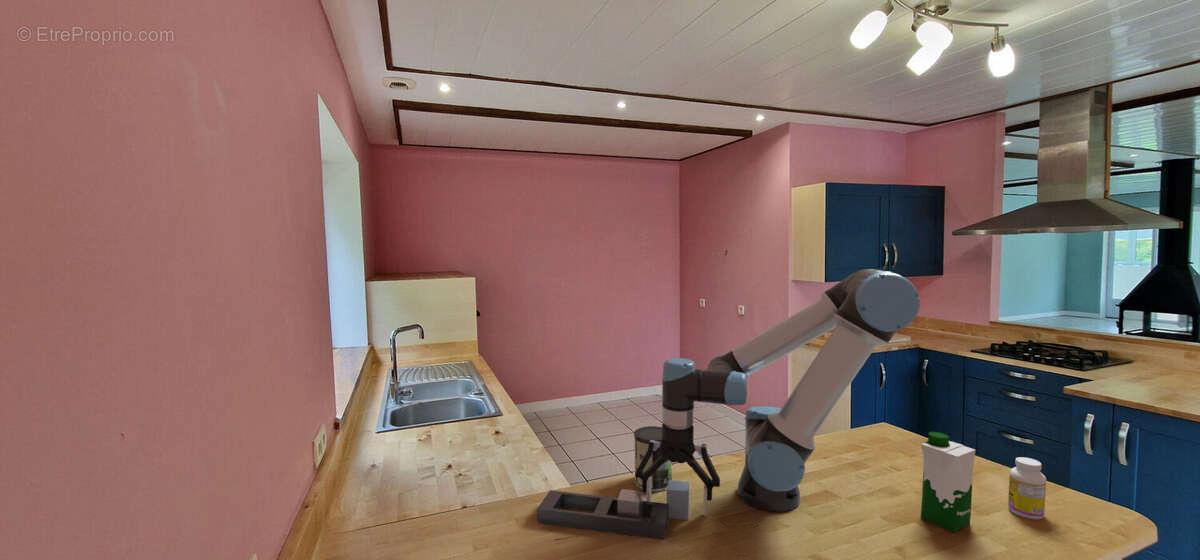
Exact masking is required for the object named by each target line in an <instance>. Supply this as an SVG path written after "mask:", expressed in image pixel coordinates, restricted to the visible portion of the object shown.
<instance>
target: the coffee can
mask: <svg viewBox="0 0 1200 560" xmlns="http://www.w3.org/2000/svg"><path fill="white" fill-rule="evenodd" d="M633 436H634V474H635V473H636V470H637V468H638V467H639V465H640V463H641V461H642V459H643V457H644V456H645V454H646V452H647V450H648V446H649V442H650V440H651V439H654V440H655V441H657V442H661V441H662V426H651V425H650V426H642V427H639V428H637V429H635V430H634V431H633ZM662 453H663V452H662V451H661V449H660V448H657V450H656V451H653V452H652V455H651V457H650V459H649V460H648V462H647V464H646V466H645V468H644V469H643V472H644V471H646V470H647V469H648V468H649V467H650V466H651V465H652V464H653V463H654V462H655V461H656V460H657V459H658V458H659V457H660V456H661V454H662ZM672 463H673V462H670V461H669V460H667V461H666V462H665V463H664V464H662V465H661V466H660V467H659V468H658V469H657V470H656V471H655V472H654V473H653V474H652V475H651V476H650V477H651V493H653V492H656V493H657V492H663V490H664V491H667V490H666V489H667V486H668V481H669V480H673V479H672V478H673V476H672V475H673V474H672V473H673V472H672V471H673V470H672V465H673V464H672ZM634 484H635V485H636V487H637V488H639V489H641V490H642V479H641V478H639V477H638V478H637V477H635V476H634Z"/></svg>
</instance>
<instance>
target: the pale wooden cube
mask: <svg viewBox="0 0 1200 560" xmlns="http://www.w3.org/2000/svg"><path fill="white" fill-rule="evenodd" d="M617 498H618V514H617V516H618V517H626V518H635V519H643V518H644V517H643V501H644V500H643V491H642V490H632V489H625V488H622V489H621V491H620V492H619V495H618V497H617ZM643 520H644V519H643Z"/></svg>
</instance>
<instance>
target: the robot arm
mask: <svg viewBox="0 0 1200 560" xmlns="http://www.w3.org/2000/svg"><path fill="white" fill-rule="evenodd" d="M920 307H921V300H920V295H919V292H918V289H917V287H916V286H915V285H914V284H913V283H912V282H911V281H910V280H909V279H908V278H905V277H904V276H902V275H900V274H899V273H895V272H894V271H889V270H881V269H876V268H865V269H861V270H858V271H856V272H854V273H851V274H850V275H849V276H847V277H846V278H844V279H842V280H841V281H839V282H838V283H837V284H835V285H833V286H831V287H830V288H828V289H827V290H825V291H823V292H822V293H821V295H820V299H819V300H817V301H815V302H813V303H811V304H810V305H808V306H806V307H805V308H802V309H800V310H799V311H797V312H796V313H794V314H793V315H791V316H789V317H787V318H786V319H784V320H782V321H780V322H779V323H777V324H775V325H772V326H771V327H770V328H768V329H766V330H765V331H763V332H762V333H760V334H758V335H756V336H754V337H753V338H750V339H749V340H747V341H746V342H744V343H742V344H741V345H738V346H737V347H735V348H733V349H731V351H729V352H726V353H725V354H720V355H716V356H714V357H713V358H712V359H711V360H710V361H709V364H708V366H707V367H706V369H699V368H696V365H695V362H694V361H693V360H691V359H689V358H688V359H687V358H682V357H680V358H679V357H673V358H669V359H667V360H665V362H664V363H663V365H662V366H663V367H662V379H661V381H662V382H661V383H662V388H661V389H662V391H661V392H662V394H661V395H662V403H661V404H662V405H661V408H662V409H661V421H662V424H661V427H662V441H661V442H657V441H655V440H654V439H651V440H650V442H649V446H648V450H647V452H646V454H645V456H644V457H643V459H642V461H641V463H640V465H639V467H638V468H637V470H636V473H635V472H634V478H635V477H637V478H638V477H639V478H641V479H642V489H641V491H642V494H643V493H644V494H646V501H649V502H652V492H651V477H650V476H651V475H652V474H653V473H654V472H655V471H656V470H657V469H658V468H659V467H660V466H661V465H662V464H664V463H665V462H666V461H667V460H669V461H670V462H672V463H679V464H684V463H686V464H687V465H688V466H689V467H690V468H691V469H692V470H693V471H694V472H695V474H696V475H697V476H698V478H700V480H701V482H702V483H703V516H707V515H708V514H707V513H708V512H707V511H708V501H709V502H712V500H713V488H719V487H720V486H721V479H720V477H719V474H718V472H717V470H716V467H715V466H714V464H713V462H712V460H711V458H710V456H709V454H708V447H707V445H706V443H702V444H701V445H695V442H694V431H695V430H694V429H695V428H694V424H695V423H694V419H695V403H696V402H697V403H705V404H706V403H708V404H718V405H727V406H743V405H745V404H746V402H747V397H748V377H749V376H751V375H752V374H754V373H757V372H758V371H760V370H762V369H763V368H765V367H767V366H769V365H771V364H773V363H774V362H776V361H778V360H780V359H782V358H783V357H786V356H787V355H789V354H791V353H792V352H795V350H798V349H800V348H802V347H803V346H805V345H806V344H808V343H811V342H812V341H814V340H815V339H818V338H819V337H821V336H823V335H824V334H827V333H829V332H830V331H832V332H831V334H830V335H829V336H828V338H827V339H826V340H825V342H824V344H823V345H822V347H821V349H819V352H818V353H817V355H816V356H815V357H814V359H813V361H812V362H811V363H810V365H809V367H808V368H807V370H806V371H805V373H804V374H803V375H802V377H801V378H800V380H799V382H798V383H797V385H796V386H795V388H794V389H793V390H792V392H791V393H790V395H789V397H788V398H787V399H786V401H785V403H784V404H783V406H782V407H777V406H763V405H762V406H761V405H759V406H757V405H756V406H751V407H749V408H747V409H746V411H745V417H744V420H745V436H744V437H745V441H744V442H745V445H744V446H745V449H744V450H745V455H744V457H745V459H744V462H745V463H744V467H743V469H742V472H741V475H740V477H739V480H738V483H737V495H738V496H739V498H740V499H741V500H742V501H743V503H746V504H747V505H748V506H751V507H753V508H756V509H759V510H763V511H766V512H767V511H769V512H777V513H778V512H788V511H791V510H794V509H796V508H797V507H798V506H799V505H800V502H801V493H800V488H799V485H800V483H802V481H803V479H804V476H805V472H806V467H805V464H806V463H807V461H808V459H809V458H810V456H811V455H812V454H813V452H814V451H815V449H816V448H817V447H816V441H815V438H814V437H815V435H816V434H817V432H818V431H819V430H820V428H821V426H822V425H823V423H825V421H826V420H827V418H828V417H829V415H830V414H831V413H832V411H833V409H834V408H835V406H836V405H837V404H838V402H839V401H840V399H841V398H842V396H843V395H844V393H845V392H846V390H847V389H848V388H849V386H850V385H851V383H852V382H853V380H854V379H855V377H856V376H857V375H858V373H859V371H860V370H861V369H862V367H863V366H864V365H865V364H866V361H867V360H868V359H869V357H870V356H871V354H872V353H873V351H874V350H875V348H877V347H879V346H880V347H881V346H885V345H888V344H889V343H890V341H891V340H892V339H893V337H894V335H895V334H896V332H897V331H899V330H903V329H905V328H907V327H908V326H909V325H911V324H912V323H913V322H914V321H915V319H916V317H917V316H918V315H919V311H920ZM657 448H660V449H661V451H662V452H663V453H662V454H661V456H660V457H659V458H658V459H657V460H656V461H655V462H654V463H653V464H652V465H651V466H650V467H649V468H648V469H647V470H646V471H644V472H643V469H644V468H645V466H646V464H647V462H648V460H649V459H650V457H651V455H652V452H653V451H656V450H657ZM695 452H697V453H698V455H699V456H701V459H702V461H703V463H704V465H705V468H706V470H707V472H708V474H709V475H708V474H707V472H706V471H705V470H704V469H703V467H702V466H701V465H700V464H699V462H698V461H697V460H696V458H695V456H694V453H695ZM710 477H711V478H710Z"/></svg>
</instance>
